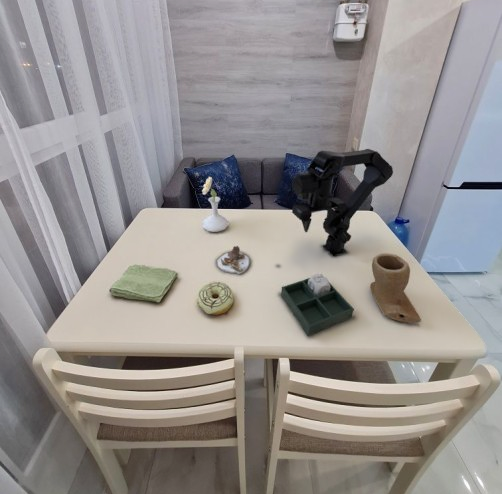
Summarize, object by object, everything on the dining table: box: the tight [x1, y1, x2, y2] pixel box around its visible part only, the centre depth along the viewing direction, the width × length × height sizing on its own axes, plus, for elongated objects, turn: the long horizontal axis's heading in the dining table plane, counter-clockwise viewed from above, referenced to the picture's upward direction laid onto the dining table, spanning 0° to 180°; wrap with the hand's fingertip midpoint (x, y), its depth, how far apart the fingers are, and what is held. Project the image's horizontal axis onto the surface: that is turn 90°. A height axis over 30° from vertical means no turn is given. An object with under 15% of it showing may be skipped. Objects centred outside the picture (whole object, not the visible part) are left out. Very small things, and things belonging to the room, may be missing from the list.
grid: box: [280, 273, 355, 337], centre depth 78 cm, size 15×15×3 cm
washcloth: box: [108, 264, 179, 303], centre depth 84 cm, size 13×18×3 cm
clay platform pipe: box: [370, 252, 422, 324], centre depth 76 cm, size 15×12×15 cm
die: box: [308, 274, 331, 297], centre depth 81 cm, size 5×5×5 cm
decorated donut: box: [196, 281, 234, 315], centre depth 78 cm, size 10×11×4 cm
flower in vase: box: [201, 176, 229, 233], centre depth 110 cm, size 13×11×25 cm
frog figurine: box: [216, 245, 250, 275], centre depth 95 cm, size 12×12×4 cm
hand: (316, 229), depth 94 cm, fingers open, 9 cm apart
